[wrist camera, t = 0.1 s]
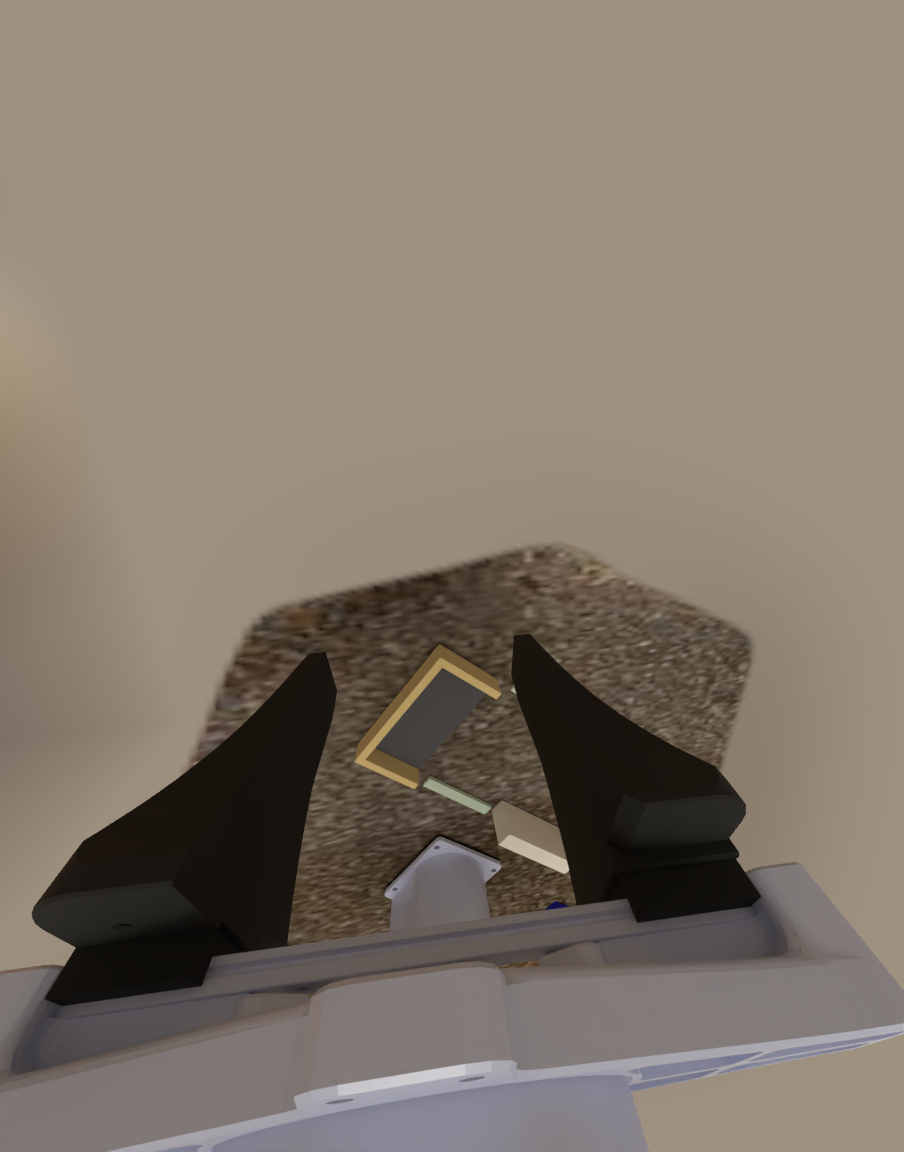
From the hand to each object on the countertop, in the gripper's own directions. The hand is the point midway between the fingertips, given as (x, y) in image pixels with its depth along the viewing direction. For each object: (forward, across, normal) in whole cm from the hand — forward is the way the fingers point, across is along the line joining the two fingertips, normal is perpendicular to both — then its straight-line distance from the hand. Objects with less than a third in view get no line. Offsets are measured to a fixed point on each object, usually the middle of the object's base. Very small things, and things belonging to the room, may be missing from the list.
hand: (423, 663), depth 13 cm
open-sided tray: (+8, 0, +13) cm, 16 cm away
